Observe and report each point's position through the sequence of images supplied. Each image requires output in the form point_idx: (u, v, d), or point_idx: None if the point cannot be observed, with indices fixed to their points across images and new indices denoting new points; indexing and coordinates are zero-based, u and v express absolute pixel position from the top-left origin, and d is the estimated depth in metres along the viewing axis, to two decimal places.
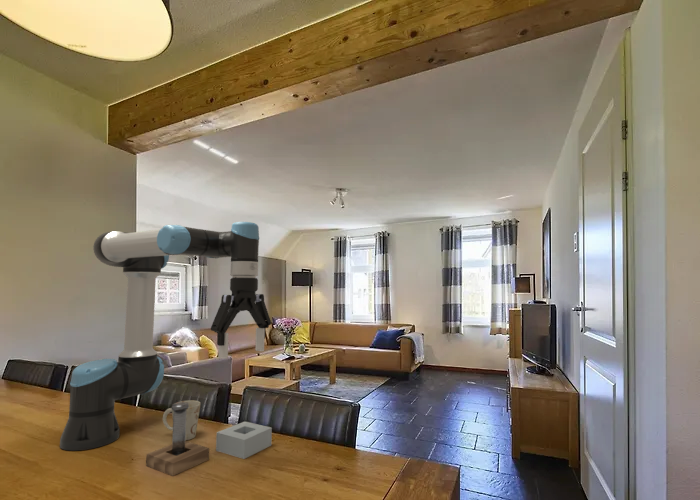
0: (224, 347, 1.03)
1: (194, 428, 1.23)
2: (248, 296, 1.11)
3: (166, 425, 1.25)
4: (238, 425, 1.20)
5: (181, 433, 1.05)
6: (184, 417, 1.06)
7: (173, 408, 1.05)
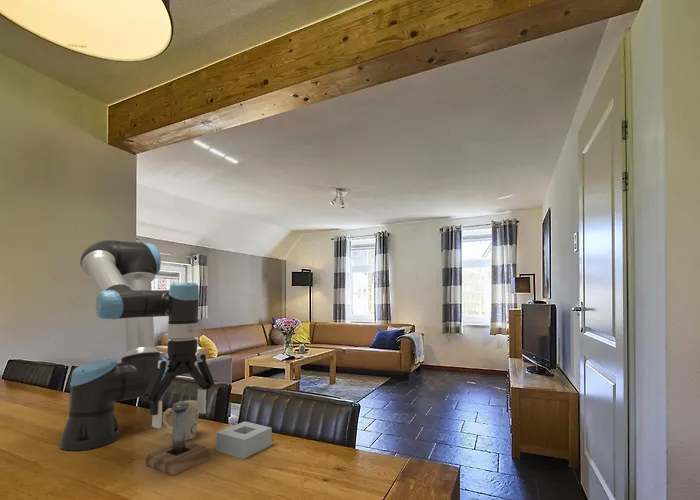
0: (157, 416, 1.00)
1: (194, 428, 1.23)
2: (186, 359, 1.08)
3: (166, 425, 1.25)
4: (238, 425, 1.20)
5: (181, 433, 1.05)
6: (184, 417, 1.06)
7: (173, 408, 1.05)
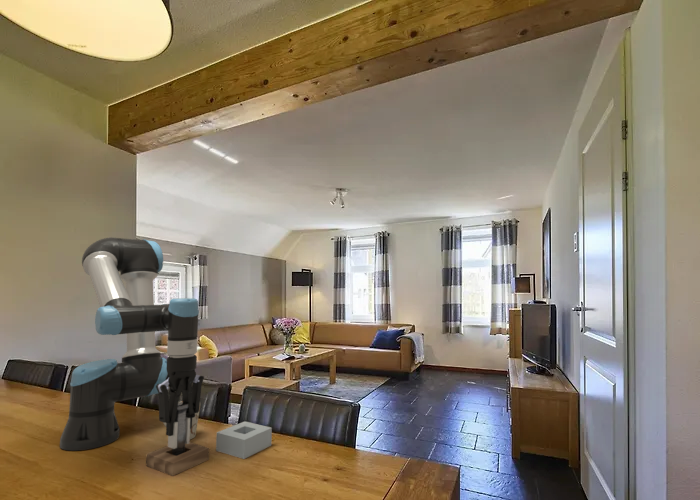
0: (173, 437, 1.04)
1: (194, 428, 1.23)
2: (188, 370, 1.08)
3: None
4: (238, 425, 1.20)
5: (181, 433, 1.05)
6: (184, 417, 1.06)
7: None
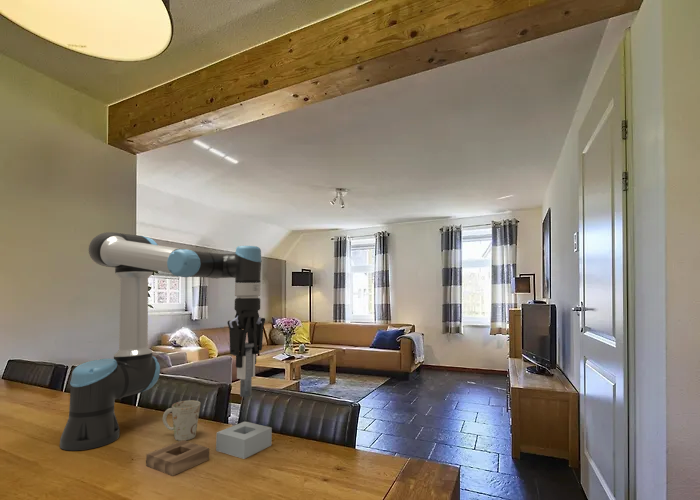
0: (242, 369, 1.15)
1: (194, 428, 1.23)
2: (253, 311, 1.20)
3: (166, 425, 1.25)
4: (238, 425, 1.20)
5: (249, 368, 1.16)
6: (251, 354, 1.17)
7: None
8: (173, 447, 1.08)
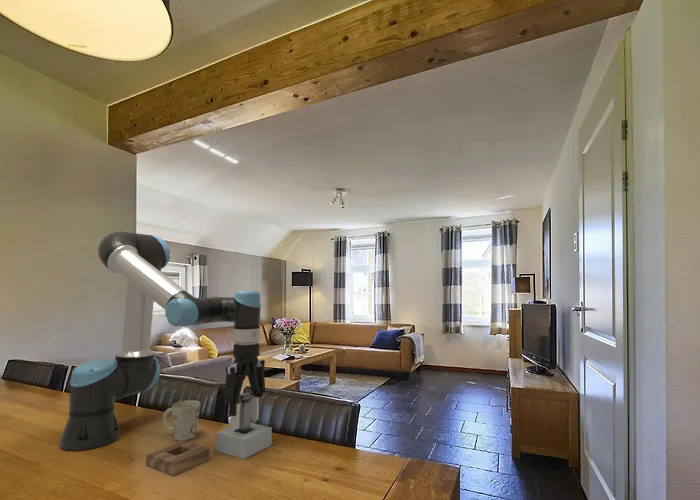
0: (236, 417, 1.12)
1: (194, 428, 1.23)
2: (251, 358, 1.18)
3: (166, 425, 1.25)
4: None
5: (247, 421, 1.15)
6: (249, 406, 1.16)
7: (240, 398, 1.15)
8: (173, 447, 1.08)
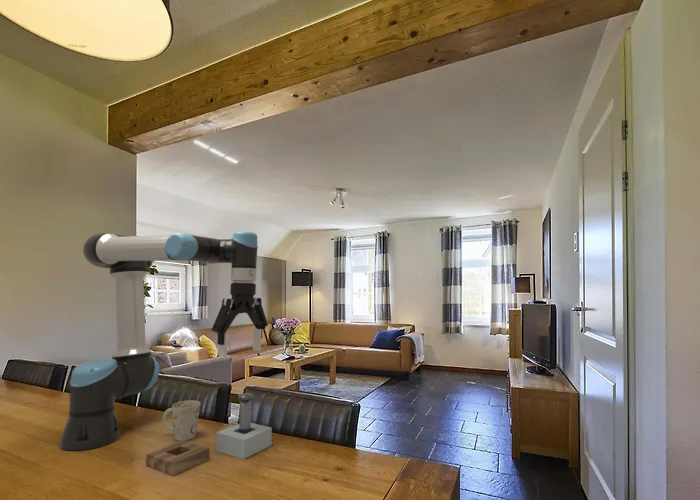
0: (224, 346, 1.14)
1: (194, 428, 1.23)
2: (247, 300, 1.21)
3: (166, 425, 1.25)
4: (238, 425, 1.20)
5: (247, 421, 1.15)
6: (249, 406, 1.16)
7: (240, 398, 1.15)
8: (173, 447, 1.08)
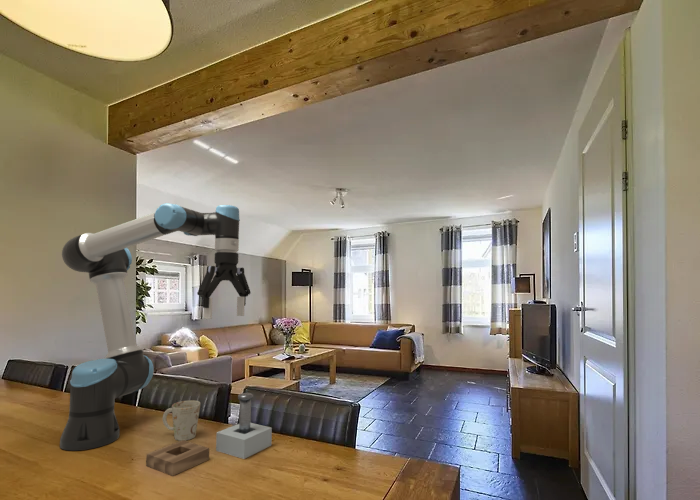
0: (208, 309, 1.23)
1: (194, 428, 1.23)
2: (230, 268, 1.31)
3: (166, 425, 1.25)
4: (238, 425, 1.20)
5: (247, 421, 1.15)
6: (249, 406, 1.16)
7: (240, 398, 1.15)
8: (173, 447, 1.08)
